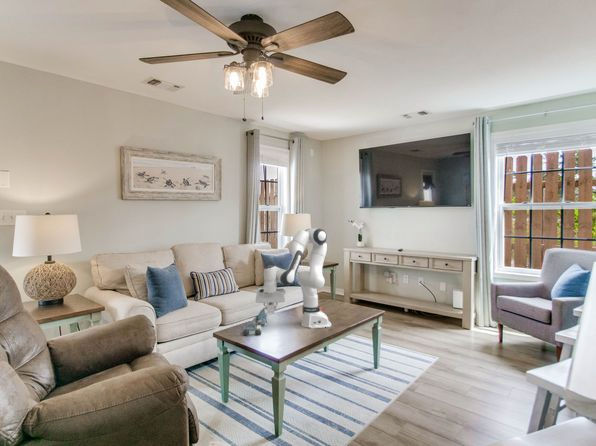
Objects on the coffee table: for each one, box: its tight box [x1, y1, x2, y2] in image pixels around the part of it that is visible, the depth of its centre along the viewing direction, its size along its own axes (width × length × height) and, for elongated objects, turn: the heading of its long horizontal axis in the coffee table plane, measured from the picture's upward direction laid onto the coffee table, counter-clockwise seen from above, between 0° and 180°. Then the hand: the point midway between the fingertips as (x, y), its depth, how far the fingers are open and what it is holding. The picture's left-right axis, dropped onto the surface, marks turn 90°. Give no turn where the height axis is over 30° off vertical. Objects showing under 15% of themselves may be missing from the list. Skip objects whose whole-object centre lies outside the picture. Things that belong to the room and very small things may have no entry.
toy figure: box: [252, 307, 268, 327], centre depth 246 cm, size 17×10×15 cm, turn 168°
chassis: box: [242, 324, 263, 337], centre depth 230 cm, size 12×11×4 cm
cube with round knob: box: [266, 302, 275, 315], centre depth 231 cm, size 5×5×7 cm
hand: (270, 308), depth 231 cm, fingers closed on cube with round knob, 5 cm apart
